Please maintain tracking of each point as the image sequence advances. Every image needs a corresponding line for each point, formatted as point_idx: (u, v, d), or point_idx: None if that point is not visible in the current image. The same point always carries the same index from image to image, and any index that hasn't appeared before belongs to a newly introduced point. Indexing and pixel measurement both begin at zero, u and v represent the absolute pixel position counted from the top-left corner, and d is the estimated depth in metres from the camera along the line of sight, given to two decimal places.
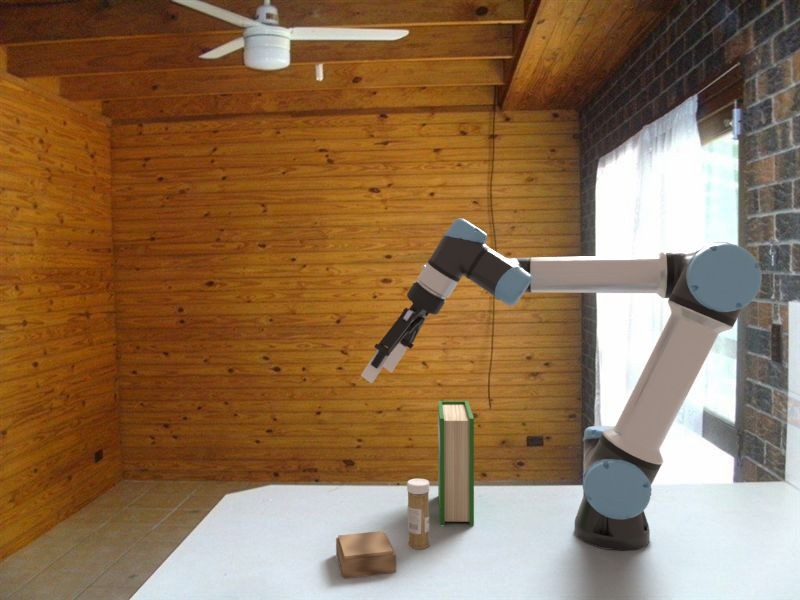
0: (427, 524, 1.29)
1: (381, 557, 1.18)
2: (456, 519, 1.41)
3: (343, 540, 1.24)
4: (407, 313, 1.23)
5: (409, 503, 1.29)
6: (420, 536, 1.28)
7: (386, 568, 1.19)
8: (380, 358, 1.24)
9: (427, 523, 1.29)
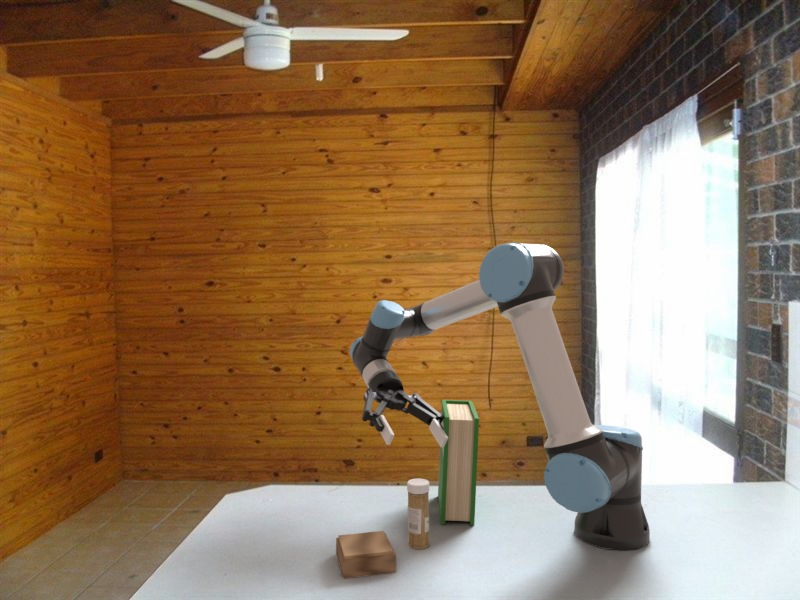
0: (427, 524, 1.29)
1: (381, 557, 1.18)
2: (457, 518, 1.41)
3: (343, 540, 1.24)
4: (365, 394, 1.43)
5: (409, 503, 1.29)
6: (420, 536, 1.28)
7: (386, 568, 1.19)
8: (375, 420, 1.34)
9: (427, 523, 1.29)
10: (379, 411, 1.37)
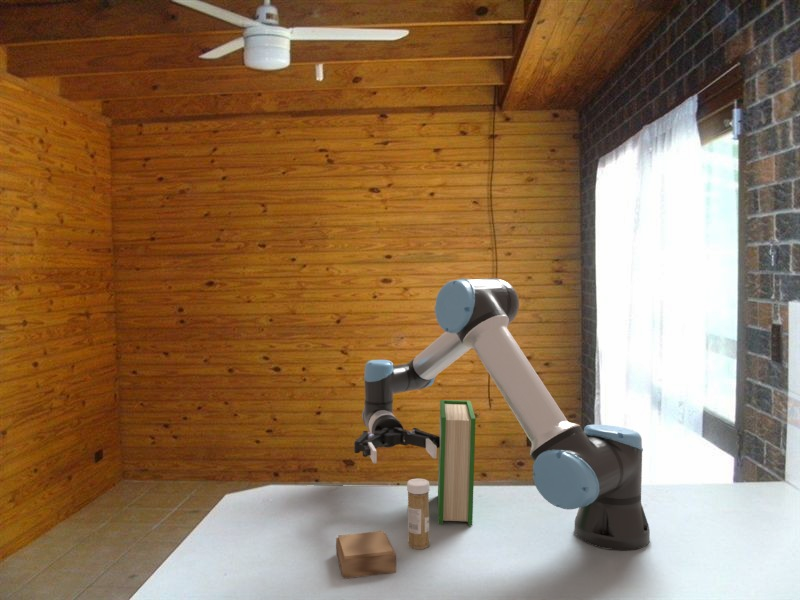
0: (427, 524, 1.29)
1: (381, 557, 1.18)
2: (455, 518, 1.41)
3: (343, 540, 1.24)
4: None
5: (409, 503, 1.29)
6: (420, 536, 1.28)
7: (386, 568, 1.19)
8: (363, 448, 1.43)
9: (427, 523, 1.29)
10: (368, 441, 1.45)
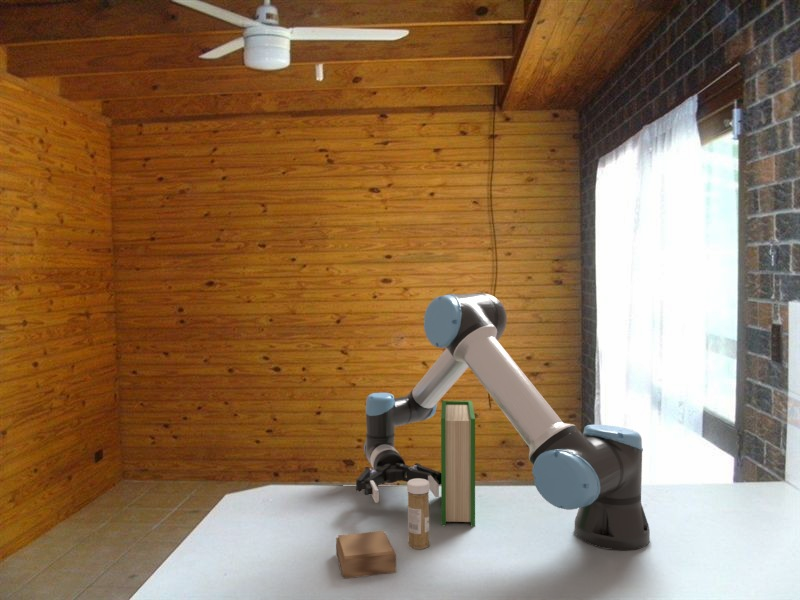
0: (427, 524, 1.29)
1: (381, 557, 1.18)
2: (457, 519, 1.41)
3: (343, 540, 1.24)
4: None
5: (409, 503, 1.29)
6: (420, 536, 1.28)
7: (386, 568, 1.19)
8: (365, 486, 1.43)
9: (427, 523, 1.29)
10: (370, 479, 1.45)
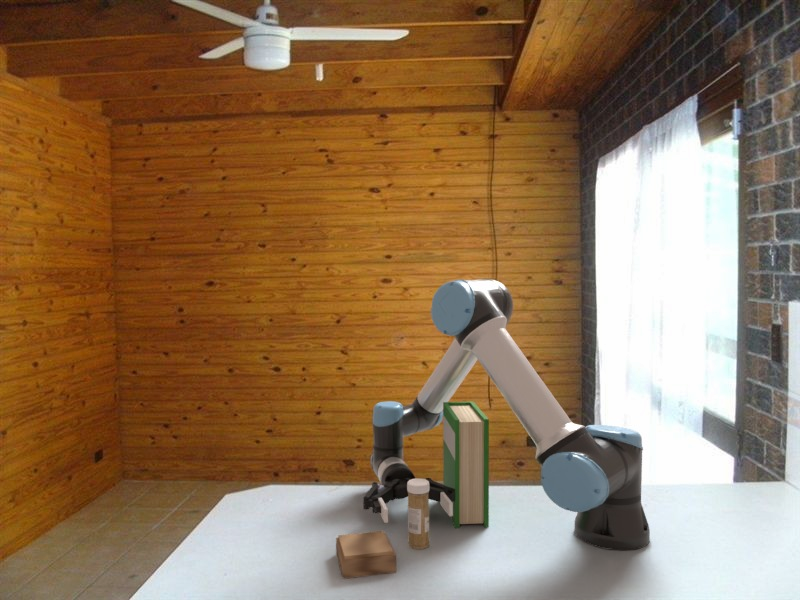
0: (427, 524, 1.29)
1: (381, 557, 1.18)
2: (470, 521, 1.40)
3: (343, 540, 1.24)
4: None
5: (409, 503, 1.29)
6: (420, 536, 1.28)
7: (386, 568, 1.19)
8: (373, 504, 1.32)
9: (427, 523, 1.29)
10: (378, 496, 1.35)
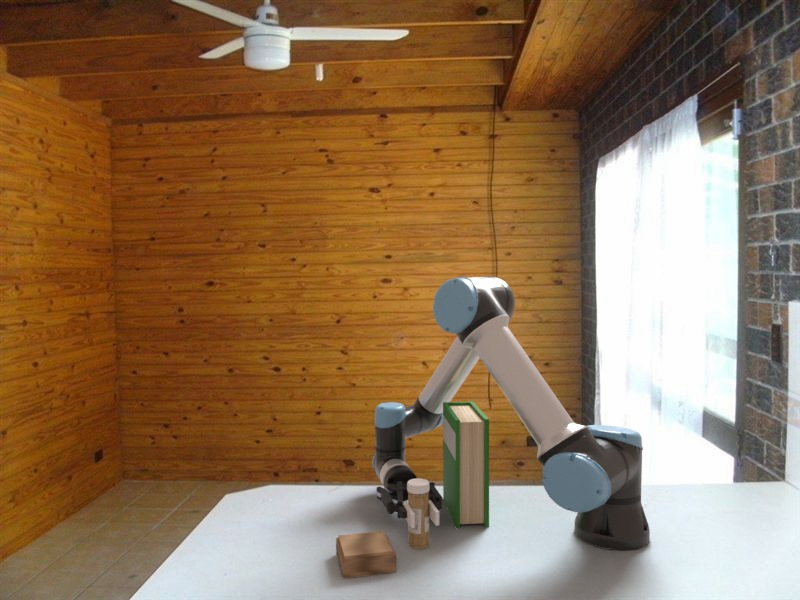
0: (427, 524, 1.29)
1: (381, 557, 1.18)
2: (471, 521, 1.40)
3: (343, 540, 1.24)
4: (377, 494, 1.39)
5: (409, 503, 1.29)
6: (420, 536, 1.28)
7: (386, 568, 1.19)
8: (399, 509, 1.29)
9: (427, 523, 1.29)
10: (401, 500, 1.32)
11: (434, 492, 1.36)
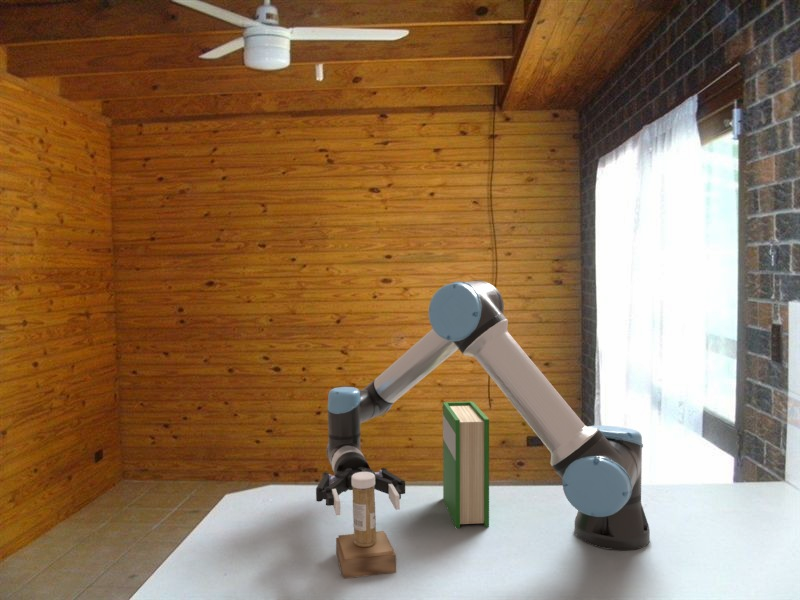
0: (373, 520, 1.21)
1: (381, 557, 1.18)
2: (471, 521, 1.40)
3: (343, 540, 1.24)
4: None
5: (353, 498, 1.21)
6: (366, 533, 1.21)
7: (386, 568, 1.19)
8: (326, 496, 1.22)
9: (373, 519, 1.21)
10: (332, 486, 1.25)
11: (393, 477, 1.30)
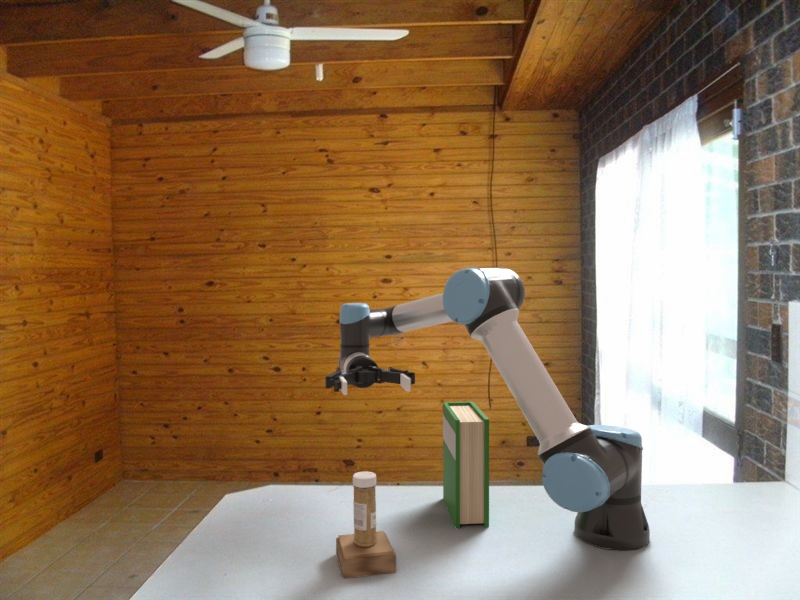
0: (373, 520, 1.21)
1: (381, 557, 1.18)
2: (471, 521, 1.40)
3: (343, 540, 1.24)
4: None
5: (354, 497, 1.21)
6: (366, 533, 1.21)
7: (386, 568, 1.19)
8: (334, 382, 1.37)
9: (373, 519, 1.21)
10: (340, 376, 1.40)
11: (402, 371, 1.45)
